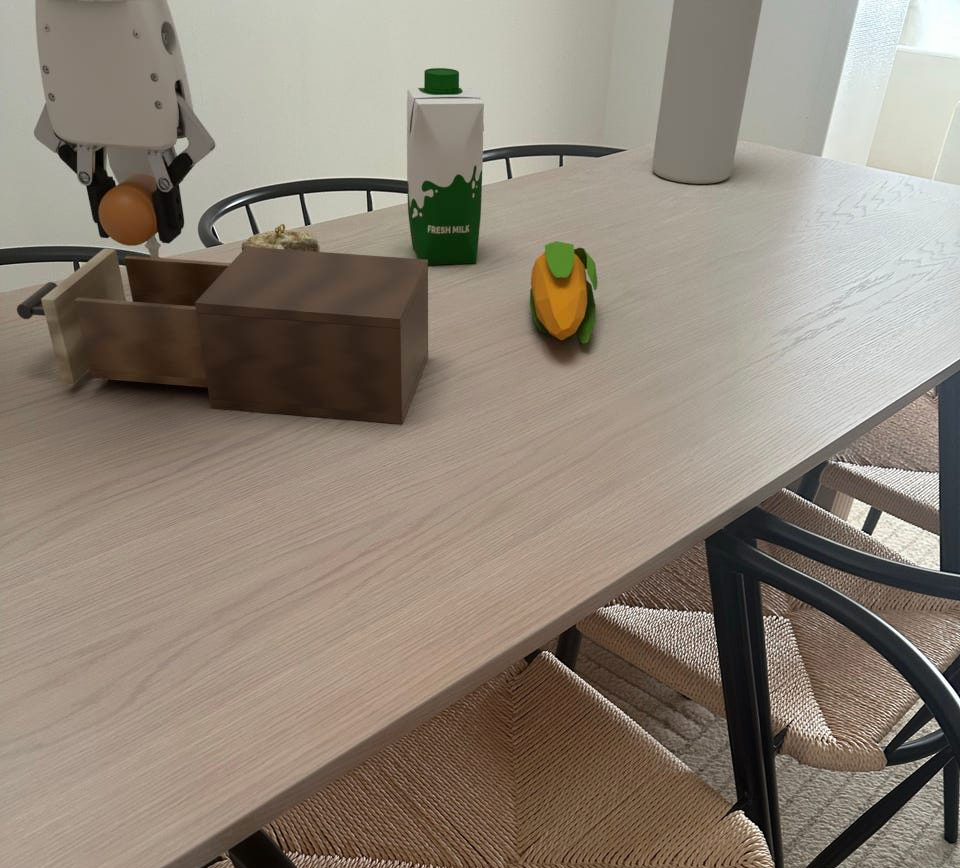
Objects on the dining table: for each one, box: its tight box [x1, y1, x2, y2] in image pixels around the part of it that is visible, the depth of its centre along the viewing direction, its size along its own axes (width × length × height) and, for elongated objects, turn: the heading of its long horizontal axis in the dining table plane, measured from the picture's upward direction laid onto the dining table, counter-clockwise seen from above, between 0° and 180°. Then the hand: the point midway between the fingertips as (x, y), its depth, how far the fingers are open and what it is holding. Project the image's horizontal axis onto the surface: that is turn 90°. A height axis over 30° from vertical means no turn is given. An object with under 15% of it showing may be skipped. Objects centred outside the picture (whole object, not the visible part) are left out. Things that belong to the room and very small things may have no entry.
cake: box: [240, 223, 321, 252], centre depth 117 cm, size 10×10×5 cm
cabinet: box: [195, 247, 429, 425], centre depth 92 cm, size 18×15×10 cm
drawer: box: [16, 247, 232, 389], centre depth 94 cm, size 22×14×8 cm, turn 83°
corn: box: [529, 240, 598, 344], centre depth 105 cm, size 7×8×20 cm
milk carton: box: [406, 67, 485, 266], centre depth 118 cm, size 9×9×20 cm
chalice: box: [107, 147, 162, 258], centre depth 107 cm, size 7×7×18 cm
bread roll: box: [99, 174, 158, 247], centre depth 80 cm, size 8×4×4 cm, turn 172°
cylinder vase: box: [651, 0, 763, 185], centre depth 149 cm, size 12×12×25 cm
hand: (141, 233), depth 81 cm, fingers closed on bread roll, 4 cm apart
